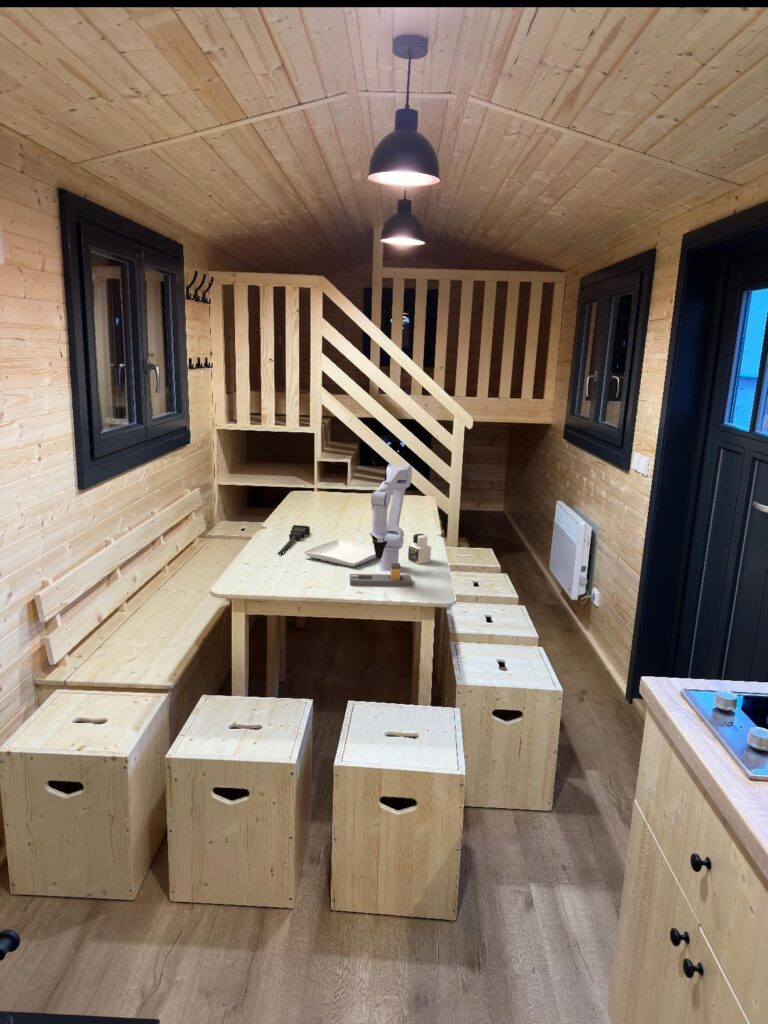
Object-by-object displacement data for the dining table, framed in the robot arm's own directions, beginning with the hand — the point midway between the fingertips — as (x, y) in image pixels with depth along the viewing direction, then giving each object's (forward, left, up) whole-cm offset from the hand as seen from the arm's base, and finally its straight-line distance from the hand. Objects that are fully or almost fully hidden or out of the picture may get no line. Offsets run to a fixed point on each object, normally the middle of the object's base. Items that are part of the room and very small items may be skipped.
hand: (378, 555), depth 280 cm
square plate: (-31, -12, -11) cm, 35 cm away
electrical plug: (-52, -36, -11) cm, 64 cm away
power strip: (+4, +1, -10) cm, 11 cm away
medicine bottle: (-27, +20, -11) cm, 35 cm away
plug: (+4, +7, -10) cm, 13 cm away
